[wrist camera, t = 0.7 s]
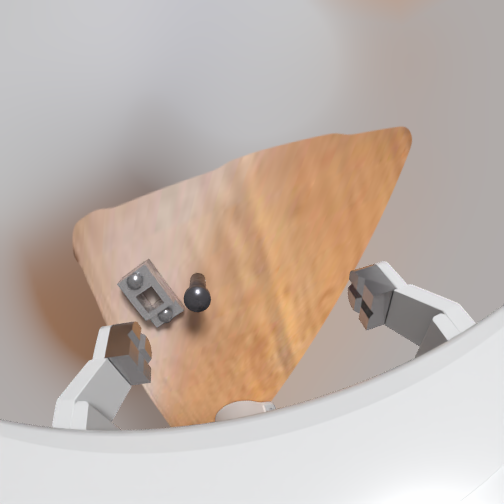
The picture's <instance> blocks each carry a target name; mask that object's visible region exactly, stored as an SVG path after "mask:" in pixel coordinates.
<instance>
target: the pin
mask: <svg viewBox="0 0 504 504" xmlns="http://www.w3.org/2000/svg"><path fill="white" fill-rule="evenodd" d="M210 302H211V297H210V293H209V291H208V290H207V289H206V281H205V277H204V276H203V275H202V274H200V273H195V274H193V275H192V276H191V279H190V287H189V288H188V289H187V290H186V292H185V294H184V303H185V305H186V307H187V308H188V309H189V310H191V311H194V312H201V311H204V310H206V309H207V308H208V307H209V305H210Z"/></svg>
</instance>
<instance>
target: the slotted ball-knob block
mask: <svg viewBox="0 0 504 504" xmlns="http://www.w3.org/2000/svg"><path fill="white" fill-rule="evenodd" d="M117 285H118V286H119V287H120V289H121V290H122V291H123V293H124V294H125V295H126V297H127V298H128V299H129V301H130V302H131V303H132V304H133V306H134V307H135V308H136V309H137V311H138V312H139V313H140V314H141V316H142V317H143V318H144V319H145V321H147V320H148V319H150V320H151V321H152V323H153V324H154V325H155V326H156V327H159V326H160V325H162V324H164V323H168V322H170V321H171V320H172V318H173V317H175V316H176V315H178V314H179V313H181V312H182V311H184V305H183V304H182V303H181V301H180V300H179V299H178V298H177V296H176V295H175V294H174V292H173V291H172V290H171V288H170V287H169V286H168V284H167V283H166V282H165V280H164V279H163V278H162V276H161V275H160V274H159V272H158V271H157V269H156V268H155V267H154V265H153V264H152V262H151V261H150V260H149V259H148V260H146V261H145V262H143V263H142V264H141V265H139V266H138V267H137V268H135V269H134V270H132V271H131V272H130V273H128V274H127V275H126V276H124V277H123V278H122V279H121V280H120V281H119V283H118V284H117ZM151 286H152V287H153V289H154V290H155V291H156V293H157V294H158V295H159V297H160V298H161V299H160V300H159V301H157V302H156V303H154V304H153V305H151V304H150V302H149V301H148V300H147V299H146V297H145V296H144V295H143V293H142V292H144V291H145V290H146V289H148V288H149V287H151Z"/></svg>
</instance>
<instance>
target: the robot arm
mask: <svg viewBox="0 0 504 504" xmlns="http://www.w3.org/2000/svg"><path fill="white" fill-rule="evenodd" d="M349 280H350V281H351V283H352V284H351V285H350V286H349V288H348V298H349V302H350V305H351V307H352V308H353V310H354V311H356V312H358V313H360V314H359V320H360V321H361V323H362V324H363V326H364V328H365V329H366V330H369V329H372V328H375V327H377V326H381V325H384V324H385V325H386V326H387V327H389V328H390V329H392V330H394V331H395V332H397V333H398V334H400V335H402V336H404V337H405V338H407V339H409V340H410V341H412V342H413V343H415V344H416V345H418V346H420V348H419V350H418V352H417V354H416V356H415V358H414V359H413V360H410V361H408V362H406V363H404V364H402V365H399V366H397V367H395V368H393V369H391V370H388V371H386V372H384V373H382V374H379V375H377V376H374V377H372V378H370V379H367V380H365V381H362V382H360V383H357V384H354V385H352V386H349V387H346V388H343V389H341V390H338V391H335V392H332V393H329V394H326V395H323V396H320V397H317V398H314V399H310V400H307V401H304V402H300V403H297V404H293V405H290V406H286V407H282V408H278V409H276V408H275V406H274V404H273V403H272V402H254V401H238V402H234V403H231V404H228V405H226V406H225V407H223V408H222V409H221V410H219V412H218V413H217V415H216V417H215V422H211V423H204V424H197V425H189V426H180V427H171V428H159V429H145V430H121V429H120V428H119V427H118V426H116V425H115V424H114V423H112V420H113V418H114V416H115V415H116V413H117V411H118V409H119V407H120V406H121V404H122V402H123V400H124V398H125V397H126V395H127V393H128V392H129V390H130V388H131V385H136V384H144V383H151V367H150V366H149V365H148V363H149V361H150V360H151V359H152V351H151V345H150V343H149V340H148V338H147V337H146V336H145V335H144V334H142V333H141V327H140V325H139V324H138V322H129V323H122V324H116V325H111V326H104V327H101V328H100V330H99V333H98V338H97V342H96V346H95V351H94V355H93V360H89V361H88V363H87V364H86V365H85V366H84V368H83V369H82V370H81V371H80V372H79V373H78V375H77V376H76V377H75V378H74V380H73V381H72V382H71V383H70V384H69V386H68V387H67V388H66V389H65V391H64V392H63V393H62V394H61V396H60V397H59V398H58V399H57V402H56V407H55V413H54V419H53V425H52V427H45V426H37V425H30V424H23V423H18V422H12V421H7V420H2V419H0V504H504V305H502V306H501V307H500V308H498V309H497V310H496V311H494V312H492V313H491V314H490V315H488V316H487V317H485V318H484V319H482V320H481V321H479V322H478V323H475V322H474V321H473V319H472V318H470V316H469V315H468V314H467V312H466V311H465V310H464V309H463V308H462V307H461V305H460V304H459V303H457V302H454V301H452V300H449V299H447V298H444V297H442V296H439V295H437V294H434V293H432V292H429V291H427V290H424V289H422V288H419V287H417V286H414V285H412V284H409V285H407V284H406V283H405V281H404V280H403V279H402V278H401V277H400V276H399V275H398V273H397V272H396V271H395V270H394V269H393V268H392V267H391V266H390V265H389V264H388V262H386V261H382V262H379V263H376V264H373V265H369V266H366V267H363V268H359V269H356V270H352V271H351V272H350V276H349ZM270 408H271V409H270Z"/></svg>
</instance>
